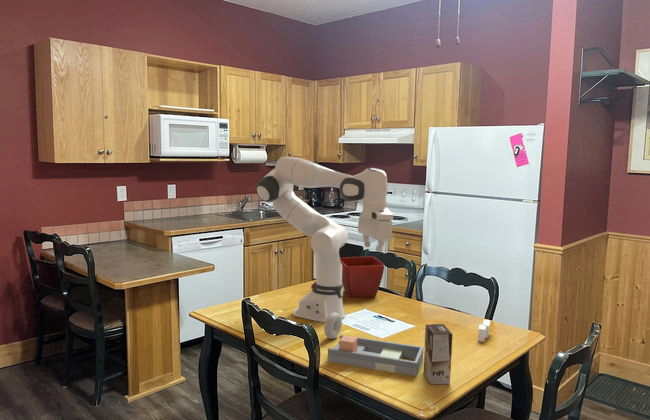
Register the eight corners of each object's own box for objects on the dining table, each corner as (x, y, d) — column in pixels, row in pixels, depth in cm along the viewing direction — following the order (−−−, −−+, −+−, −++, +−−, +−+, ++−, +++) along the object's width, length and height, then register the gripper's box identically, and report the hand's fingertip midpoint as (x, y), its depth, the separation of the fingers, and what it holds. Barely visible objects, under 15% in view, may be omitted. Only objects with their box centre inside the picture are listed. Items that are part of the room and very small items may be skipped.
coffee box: (451, 384, 153) (453, 334, 151) (430, 384, 153) (433, 334, 151) (441, 371, 162) (443, 323, 160) (422, 371, 162) (424, 323, 160)
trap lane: (327, 361, 168) (327, 349, 167) (340, 346, 181) (340, 334, 181) (416, 376, 158) (417, 363, 158) (423, 359, 171) (423, 346, 171)
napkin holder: (484, 329, 202) (485, 316, 201) (507, 339, 192) (508, 325, 192) (457, 336, 195) (458, 322, 194) (479, 346, 185) (480, 331, 184)
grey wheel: (329, 343, 184) (330, 317, 182) (321, 341, 186) (322, 315, 184) (343, 335, 192) (343, 310, 191) (335, 333, 194) (336, 308, 193)
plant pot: (345, 300, 236) (346, 266, 234) (336, 289, 254) (337, 257, 252) (384, 299, 240) (385, 265, 238) (372, 288, 258) (373, 256, 256)
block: (338, 354, 168) (339, 340, 167) (343, 349, 173) (343, 335, 172) (353, 356, 166) (353, 342, 166) (357, 351, 171) (357, 337, 170)
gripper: (354, 209, 192) (353, 244, 194) (380, 216, 173) (378, 255, 175) (368, 208, 194) (367, 243, 196) (395, 215, 176) (394, 254, 177)
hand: (373, 249), depth 185 cm, fingers open, 8 cm apart
